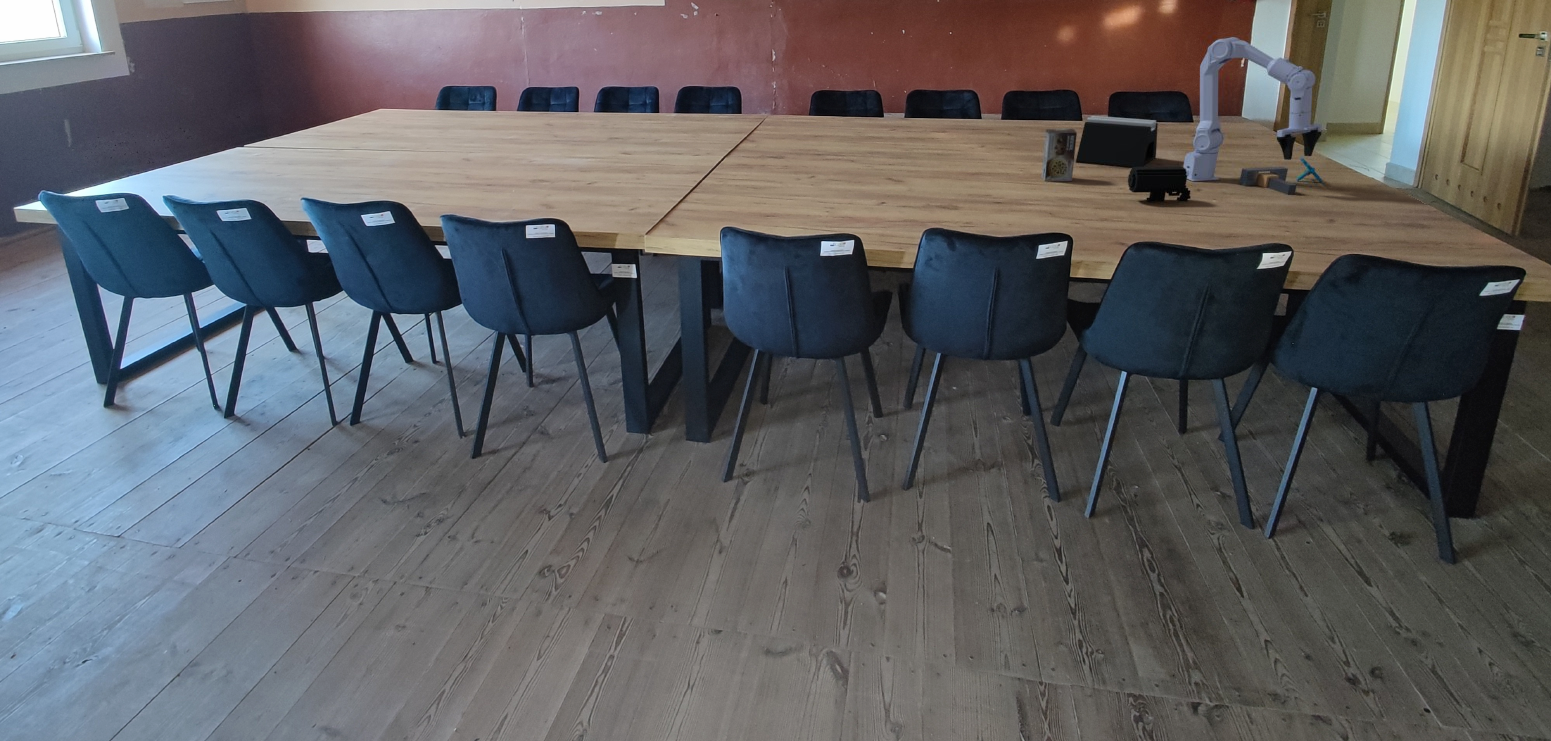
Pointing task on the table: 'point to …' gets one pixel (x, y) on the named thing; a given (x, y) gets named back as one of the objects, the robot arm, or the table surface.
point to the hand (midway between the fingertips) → (1297, 158)
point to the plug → (1275, 183)
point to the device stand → (1118, 142)
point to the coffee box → (1059, 154)
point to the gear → (1308, 171)
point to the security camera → (1159, 182)
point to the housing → (1251, 174)
